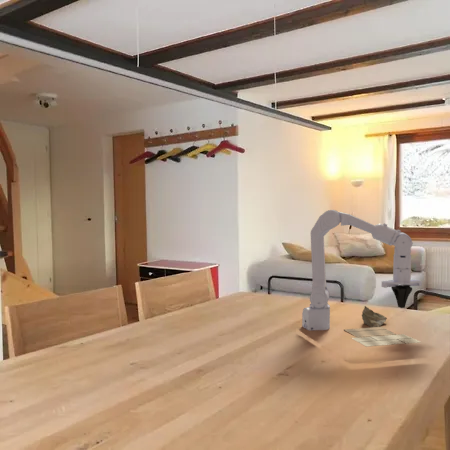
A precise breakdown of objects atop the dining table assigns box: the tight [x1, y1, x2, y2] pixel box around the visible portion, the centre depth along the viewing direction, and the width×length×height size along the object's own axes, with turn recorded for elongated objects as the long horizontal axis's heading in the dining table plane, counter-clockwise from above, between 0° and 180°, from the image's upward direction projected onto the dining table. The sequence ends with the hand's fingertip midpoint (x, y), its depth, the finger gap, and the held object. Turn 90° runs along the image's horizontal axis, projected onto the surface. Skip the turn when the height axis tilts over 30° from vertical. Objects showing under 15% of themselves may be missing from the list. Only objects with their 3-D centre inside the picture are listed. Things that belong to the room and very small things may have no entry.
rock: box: [361, 305, 388, 328], centre depth 184 cm, size 11×6×10 cm
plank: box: [343, 326, 396, 338], centre depth 171 cm, size 15×9×2 cm, turn 104°
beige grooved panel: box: [350, 333, 421, 348], centre depth 162 cm, size 20×10×2 cm, turn 104°
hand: (401, 307), depth 170 cm, fingers closed
